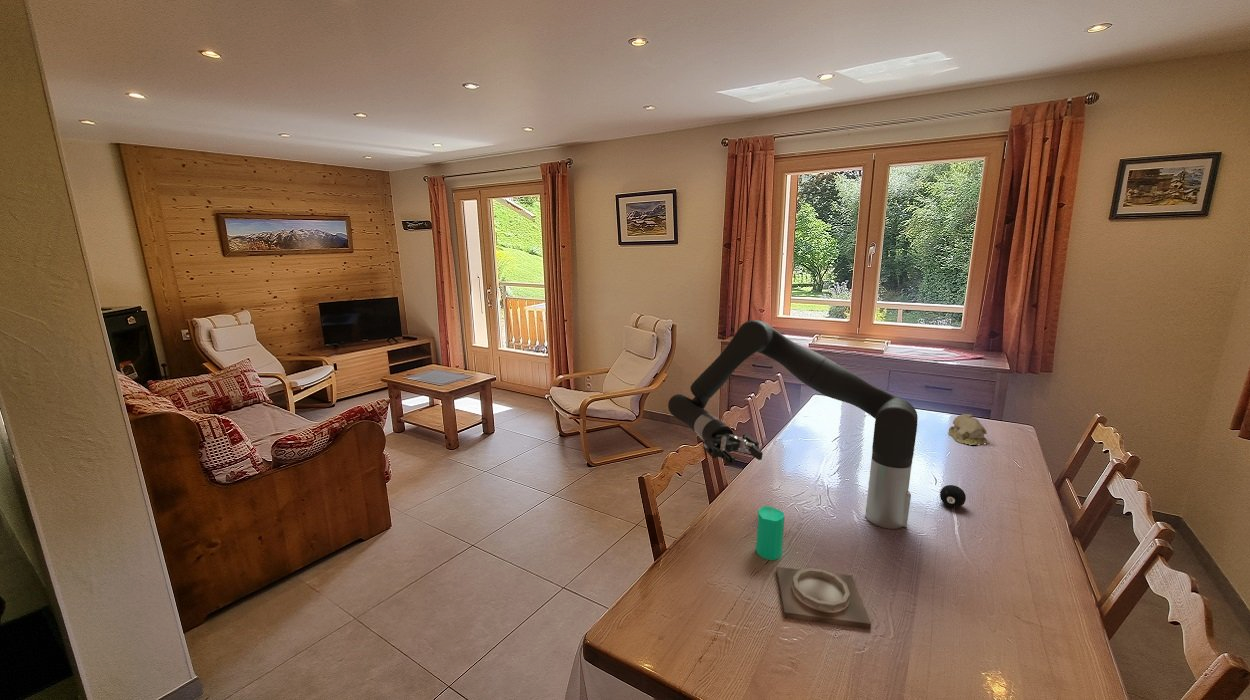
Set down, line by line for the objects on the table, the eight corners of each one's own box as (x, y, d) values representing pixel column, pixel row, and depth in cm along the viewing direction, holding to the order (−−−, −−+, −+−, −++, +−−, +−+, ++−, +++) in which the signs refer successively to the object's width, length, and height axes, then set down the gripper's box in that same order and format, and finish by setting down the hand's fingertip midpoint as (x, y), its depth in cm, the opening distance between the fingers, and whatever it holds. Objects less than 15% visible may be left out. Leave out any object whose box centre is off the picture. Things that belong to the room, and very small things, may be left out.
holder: (851, 580, 106) (852, 568, 105) (870, 628, 92) (872, 615, 92) (776, 571, 109) (777, 559, 108) (784, 617, 95) (785, 604, 95)
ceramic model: (994, 446, 175) (999, 420, 173) (964, 446, 175) (968, 421, 173) (967, 431, 188) (971, 407, 186) (939, 432, 188) (942, 408, 186)
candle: (752, 545, 118) (755, 501, 116) (775, 543, 119) (778, 500, 116) (761, 560, 112) (764, 515, 110) (785, 559, 113) (789, 513, 110)
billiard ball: (936, 506, 135) (939, 486, 134) (941, 498, 139) (943, 479, 138) (962, 514, 131) (965, 494, 130) (965, 505, 135) (968, 486, 134)
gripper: (692, 421, 131) (725, 449, 117) (735, 416, 137) (772, 442, 122) (689, 446, 133) (722, 476, 119) (732, 439, 139) (767, 468, 124)
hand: (747, 459), depth 121 cm, fingers open, 8 cm apart
